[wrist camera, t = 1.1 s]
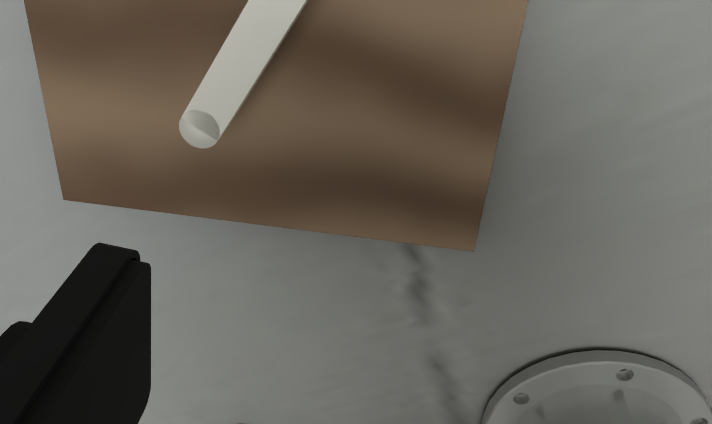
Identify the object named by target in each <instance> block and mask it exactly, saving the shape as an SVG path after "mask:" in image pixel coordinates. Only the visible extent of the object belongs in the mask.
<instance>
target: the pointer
mask: <svg viewBox="0 0 712 424" xmlns="http://www.w3.org/2000/svg"><path fill="white" fill-rule="evenodd" d="M307 2H308V0H248V2H247V4H246V5H245V7H244V9H243V11H242V12H241V14H240V16H239V18H238V19H237V21H236V23H235V25H234V26H233V28H232V30H231V32H230V33H229V35H228V37H227V39H226V40H225V42H224V44H223V45H222V47H221V49H220V51H219V52H218V54H217V56H216V58H215V59H214V61H213V63H212V65H211V66H210V68H209V70H208V72H207V73H206V75H205V77H204V79H203V80H202V82H201V84H200V86H199V87H198V89H197V91H196V92H195V94H194V96H193V98H192V99H191V101H190V103H189V105H188V106H187V108H186V110H185V112H184V113H183V115H182V117H181V119H180V121H179V130H180V133H181V135H182V137H183V138H184V140H185V141H186V142H187V143H189V144H190V145H192V146H194V147H197V148H203V149H204V148H209V147H212V146H213V145H215V144H216V143H217V141H218V140H219V138H220V137H221V136H222V134H223V133H224V131H225V130H226V128H227V127H228V126H229V124H230V123H231V121H232V120H233V118H234V117H235V116H236V114H237V113H238V111H239V110H240V108H241V107H242V105H243V103H244V102H245V100H246V99H247V97H248V95H249V94H250V92H251V91H252V89H253V88H254V86H255V84H256V83H257V81H258V80H259V78H260V76H261V75H262V73H263V72H264V70H265V68H266V67H267V65H268V64H269V62H270V61H271V59H272V57H273V56H274V54H275V53H276V51H277V49H278V48H279V46H280V45H281V43H282V41H283V40H284V38H285V37H286V35H287V34H288V32H289V30H290V29H291V27H292V26H293V24H294V22H295V21H296V19H297V18H298V16H299V15H300V13H301V11H302V10H303V8H304V7H305V5H306V3H307Z"/></svg>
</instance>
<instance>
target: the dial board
mask: <svg viewBox="0 0 712 424" xmlns="http://www.w3.org/2000/svg"><path fill="white" fill-rule="evenodd" d="M247 2H248V0H24V3H25V8H26V13H27V18H28V23H29V28H30V33H31V38H32V43H33V49H34V54H35V59H36V64H37V69H38V74H39V79H40V84H41V89H42V94H43V99H44V104H45V109H46V114H47V119H48V124H49V129H50V134H51V139H52V144H53V149H54V154H55V159H56V164H57V169H58V175H59V180H60V185H61V190H62V195H63V200H69V201H77V202H85V203H93V204H101V205H109V206H117V207H125V208H133V209H140V210H148V211H156V212H164V213H172V214H180V215H188V216H196V217H204V218H212V219H220V220H228V221H236V222H243V223H251V224H259V225H267V226H275V227H283V228H291V229H299V230H307V231H315V232H323V233H331V234H339V235H347V236H354V237H362V238H370V239H378V240H386V241H394V242H402V243H410V244H418V245H426V246H434V247H442V248H450V249H457V250H465V251H473V252H474V248H475V243H476V239H477V234H478V229H479V225H480V220H481V216H482V211H483V206H484V202H485V197H486V193H487V188H488V184H489V179H490V174H491V170H492V165H493V161H494V156H495V151H496V147H497V142H498V138H499V133H500V128H501V124H502V119H503V115H504V110H505V106H506V101H507V96H508V92H509V87H510V83H511V78H512V73H513V69H514V64H515V60H516V55H517V50H518V46H519V41H520V37H521V32H522V28H523V23H524V18H525V14H526V9H527V5H528V0H308V2H307V3H306V5H305V7H304V8H303V10H302V11H301V13H300V15H299V16H298V18H297V19H296V21H295V22H294V24H293V26H292V27H291V29H290V30H289V32H288V34H287V35H286V37H285V38H284V40H283V41H282V43H281V45H280V46H279V48H278V49H277V51H276V53H275V54H274V56H273V57H272V59H271V61H270V62H269V64H268V65H267V67H266V68H265V70H264V72H263V73H262V75H261V76H260V78H259V80H258V81H257V83H256V84H255V86H254V88H253V89H252V91H251V92H250V94H249V95H248V97H247V99H246V100H245V102H244V103H243V105H242V107H241V108H240V110H239V111H238V113H237V114H236V116H235V117H234V118H233V120H232V121H231V123H230V124H229V126H228V127H227V128H226V130H225V131H224V133H223V134H222V136H221V137H220V138H219V140H218V141H217V143H216V144H215V145H213V146H212V147H209V148H204V149H203V148H197V147H194V146H192V145H190V144H189V143H187V142H186V141H185V140H184V138H183V137H182V135H181V133H180V130H179V121H180V119H181V117H182V115H183V113H184V112H185V110H186V108H187V106H188V105H189V103H190V101H191V99H192V98H193V96H194V94H195V92H196V91H197V89H198V87H199V86H200V84H201V82H202V80H203V79H204V77H205V75H206V73H207V72H208V70H209V68H210V66H211V65H212V63H213V61H214V59H215V58H216V56H217V54H218V52H219V51H220V49H221V47H222V45H223V44H224V42H225V40H226V39H227V37H228V35H229V33H230V32H231V30H232V28H233V26H234V25H235V23H236V21H237V19H238V18H239V16H240V14H241V12H242V11H243V9H244V7H245V5H246V4H247Z"/></svg>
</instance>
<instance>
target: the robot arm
mask: <svg viewBox="0 0 712 424" xmlns="http://www.w3.org/2000/svg"><path fill="white" fill-rule="evenodd" d="M150 388H151V266H150V264H149V263H145V262H140V255H139V253H138V251H136V250H132V249H127V248H122V247H118V246H113V245H108V244H103V243H97V244H95V245H94V246H93V247H92V248H91V249H90V250H89V251H88V253H87V254H86V255H85V257H84V258H83V259H82V260H81V262H80V263H79V264H78V265H77V267H76V268H75V269H74V270H73V272H72V273H71V274H70V276H69V277H68V278H67V279H66V281H65V282H64V283H63V284H62V286H61V287H60V288H59V289H58V291H57V292H56V293H55V295H54V296H53V297H52V298H51V300H50V301H49V302H48V303H47V305H46V306H45V307H44V308H43V310H42V311H41V312H40V314H39V315H38V316H37V317H36V319H35V320H34V321H33V322H32V323H30V322H23V321H19V322H17V323H15V324H13V325H11V326H10V327H9V328H8V329H7V330H6V331H5V332H4V333H3V334H2V335H1V336H0V424H138V422H139V420H140V418H141V416H142V414H143V412H144V410H145V407H146V405H147V402H148V398H149V394H150ZM482 424H712V411H711V409H710V407H709V405H708V403H707V401H706V398H705V396H704V395H703V394H702V392H701V391H700V389H699V388H698V387H697V385H696V384H695V383H694V382H693V381H692V380H691V379H689V378H688V377H687V376H686V375H685V374H683V373H682V372H681V371H679V370H678V369H676V368H674V367H672V366H670V365H668V364H666V363H664V362H662V361H659V360H656V359H653V358H650V357H647V356H644V355H640V354H634V353H629V352H623V351H603V350H594V351H584V352H575V353H569V354H565V355H561V356H557V357H553V358H549V359H547V360H544V361H542V362H539V363H537V364H534V365H532V366H529V367H528V368H526V369H524V370H523V371H521V372H519V373H518V374H516V375H514V376H513V377H511V378H510V379H509V380H508V381H507V382H506V383H505V384H503V385H502V386H501V387H500V388H499V389H498V390H497V391H496V393H495V394H494V395H493V397H492V398H491V399H490V401H489V402H488V405H487V407H486V409H485V412H484V414H483V418H482Z"/></svg>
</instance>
